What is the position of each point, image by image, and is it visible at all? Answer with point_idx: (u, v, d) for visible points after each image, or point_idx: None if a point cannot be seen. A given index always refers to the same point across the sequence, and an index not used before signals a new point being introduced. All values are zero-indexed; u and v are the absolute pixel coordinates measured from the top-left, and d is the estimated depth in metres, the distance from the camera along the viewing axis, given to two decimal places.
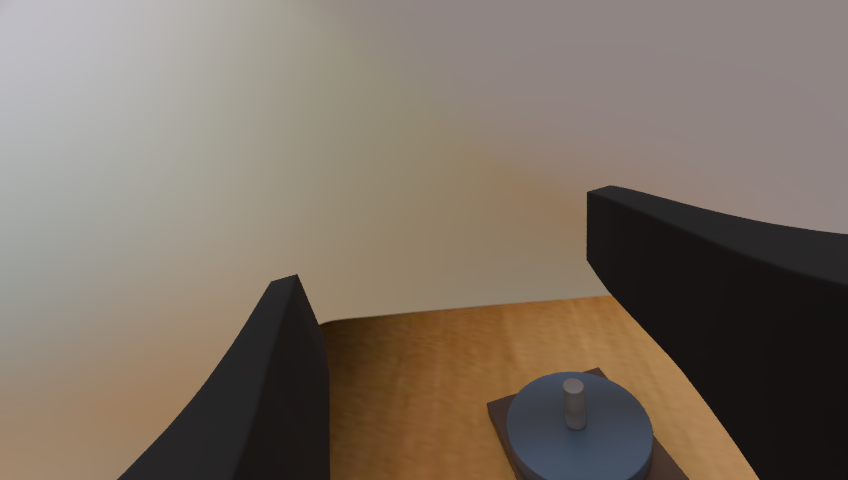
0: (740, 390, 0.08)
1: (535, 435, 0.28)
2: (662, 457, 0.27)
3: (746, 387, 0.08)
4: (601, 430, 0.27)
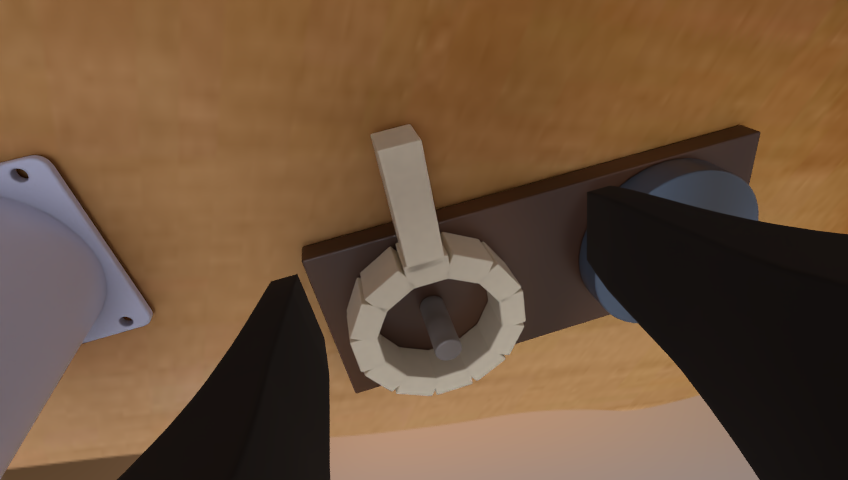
0: (740, 390, 0.08)
1: None
2: (603, 310, 0.25)
3: (746, 388, 0.08)
4: None
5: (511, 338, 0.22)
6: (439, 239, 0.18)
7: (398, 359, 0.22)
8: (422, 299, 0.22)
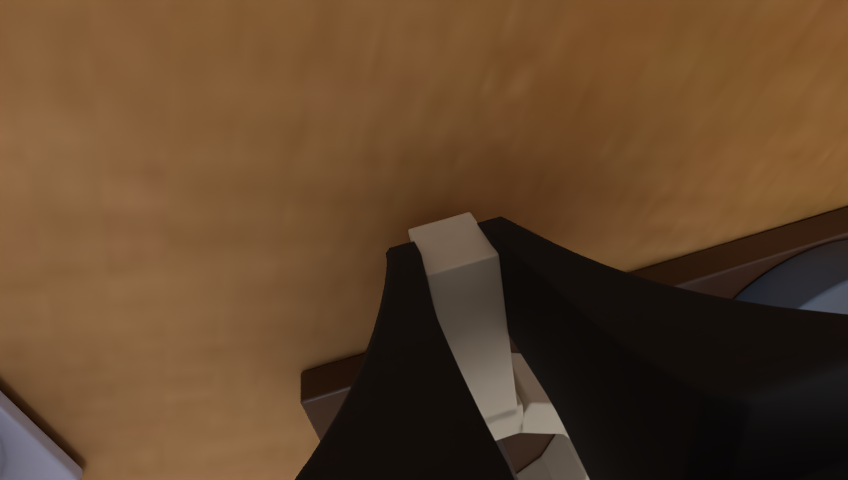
0: (590, 440, 0.08)
1: None
2: None
3: (594, 439, 0.07)
4: None
5: None
6: (512, 386, 0.12)
7: None
8: None
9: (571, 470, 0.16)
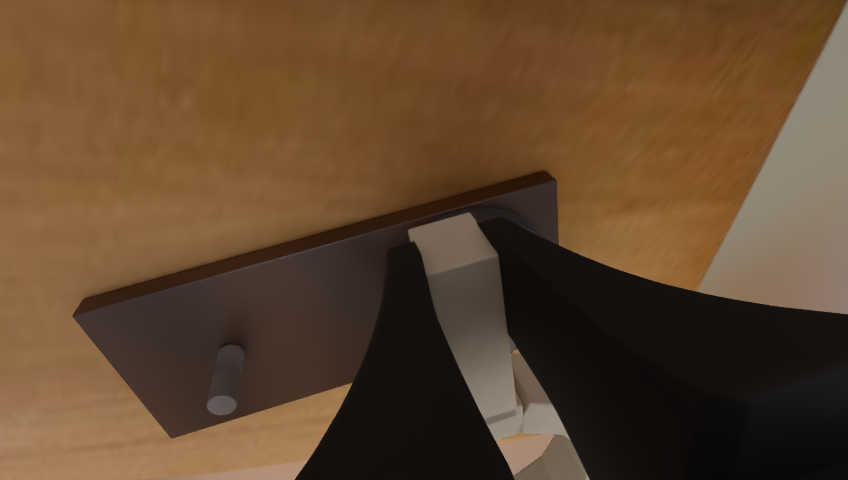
0: (590, 441, 0.08)
1: None
2: None
3: (594, 439, 0.07)
4: None
5: None
6: (512, 387, 0.12)
7: None
8: (219, 347, 0.22)
9: (571, 471, 0.16)
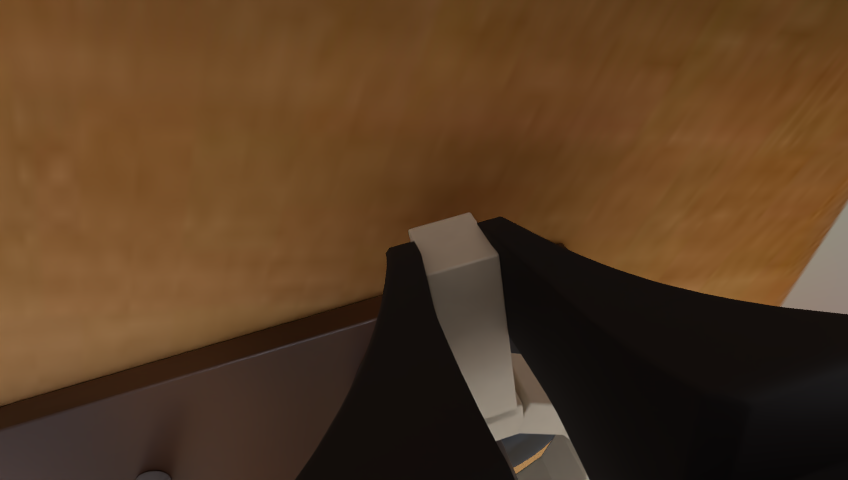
0: (590, 440, 0.08)
1: None
2: None
3: (593, 439, 0.07)
4: None
5: None
6: (512, 387, 0.12)
7: None
8: (136, 475, 0.17)
9: (571, 471, 0.16)
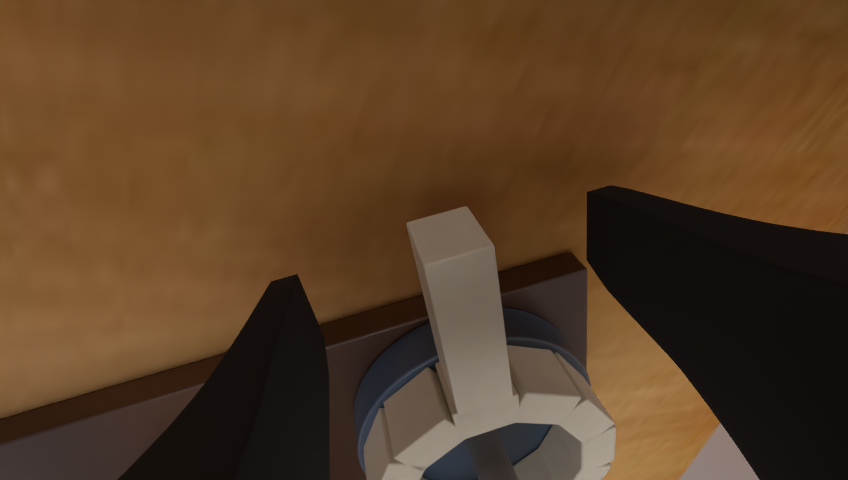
0: (740, 390, 0.08)
1: None
2: None
3: (746, 388, 0.08)
4: (455, 458, 0.17)
5: None
6: (508, 376, 0.12)
7: None
8: None
9: (567, 461, 0.16)
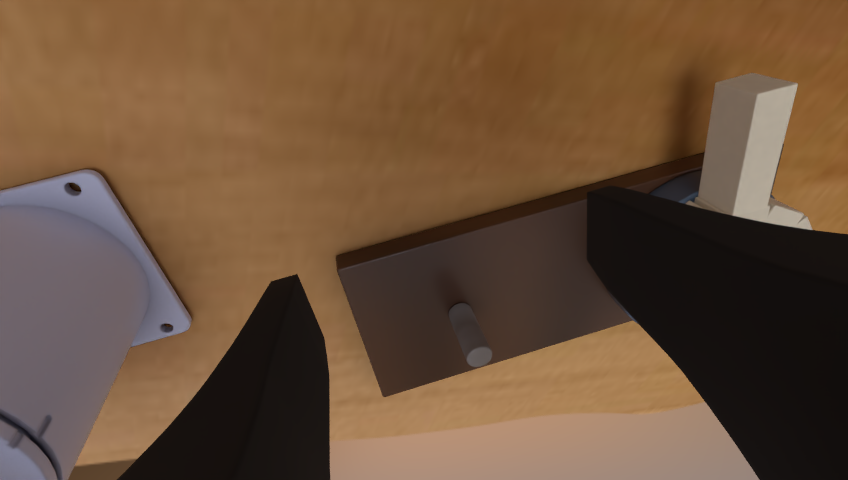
0: (740, 390, 0.08)
1: None
2: (625, 317, 0.26)
3: (746, 388, 0.08)
4: None
5: None
6: (770, 188, 0.18)
7: None
8: (451, 306, 0.23)
9: None
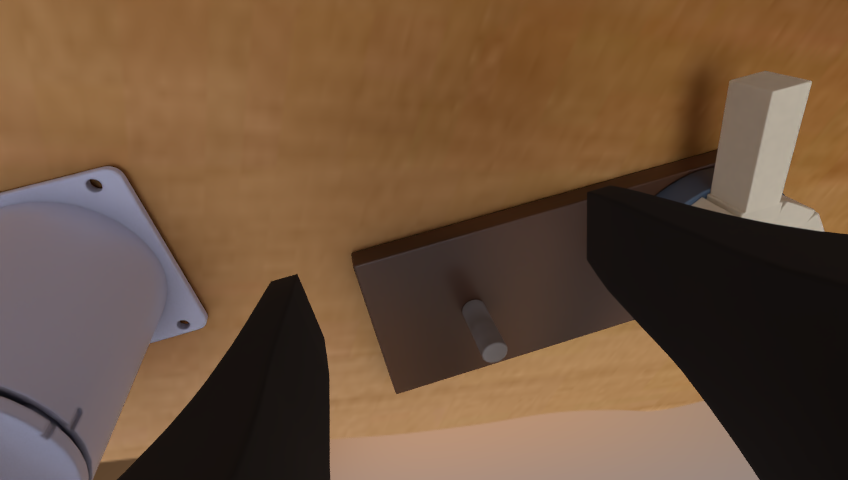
0: (740, 390, 0.08)
1: None
2: None
3: (745, 388, 0.08)
4: None
5: None
6: (783, 185, 0.19)
7: None
8: (464, 302, 0.23)
9: None
